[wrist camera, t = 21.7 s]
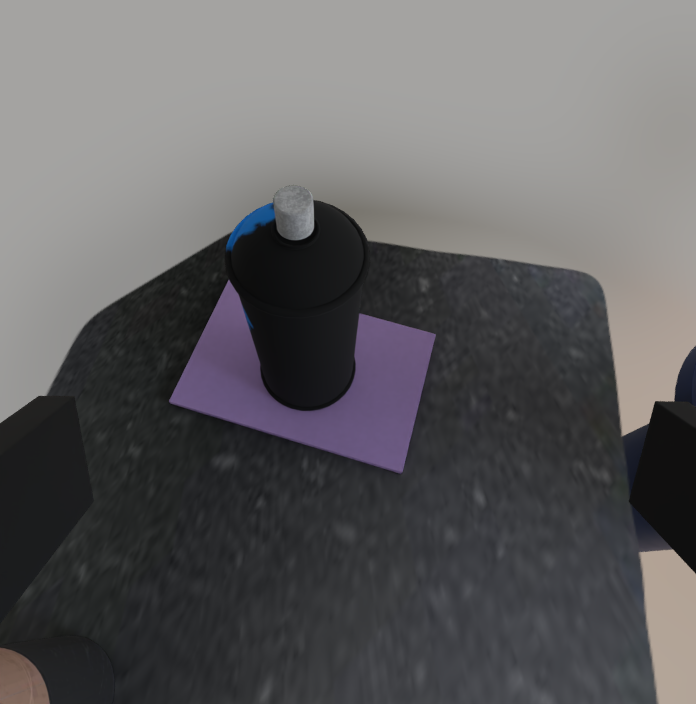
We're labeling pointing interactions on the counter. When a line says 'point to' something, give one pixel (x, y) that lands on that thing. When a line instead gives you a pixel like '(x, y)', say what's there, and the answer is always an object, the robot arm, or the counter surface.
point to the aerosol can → (301, 295)
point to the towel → (319, 425)
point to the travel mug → (55, 672)
